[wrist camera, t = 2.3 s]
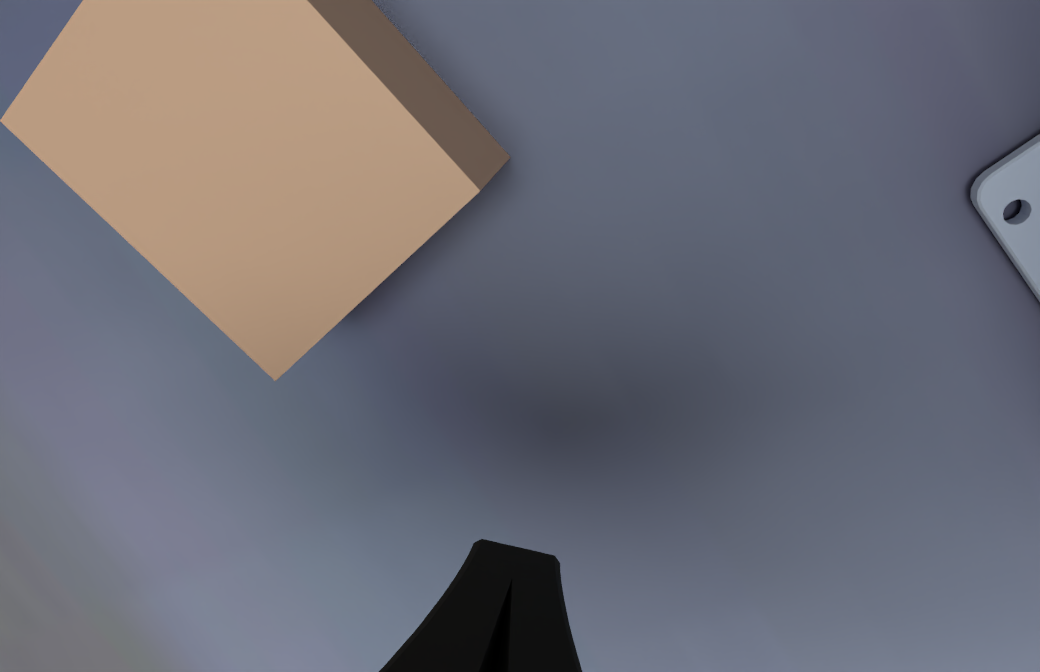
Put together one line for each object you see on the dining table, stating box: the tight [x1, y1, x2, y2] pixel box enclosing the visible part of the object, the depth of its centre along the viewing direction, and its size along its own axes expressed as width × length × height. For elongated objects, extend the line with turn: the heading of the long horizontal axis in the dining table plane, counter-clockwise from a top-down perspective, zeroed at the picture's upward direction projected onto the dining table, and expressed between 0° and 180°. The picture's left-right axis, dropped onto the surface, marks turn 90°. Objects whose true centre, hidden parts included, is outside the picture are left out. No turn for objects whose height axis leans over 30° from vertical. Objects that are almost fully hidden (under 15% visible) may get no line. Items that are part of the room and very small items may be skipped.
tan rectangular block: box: [0, 0, 510, 381], centre depth 15 cm, size 7×6×4 cm
